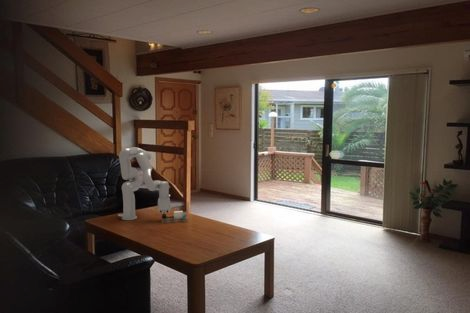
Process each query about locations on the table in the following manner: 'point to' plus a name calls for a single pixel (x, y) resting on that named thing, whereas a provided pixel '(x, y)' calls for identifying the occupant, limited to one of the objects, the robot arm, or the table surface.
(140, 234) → the table surface
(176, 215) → the cream block
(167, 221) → the channel board
